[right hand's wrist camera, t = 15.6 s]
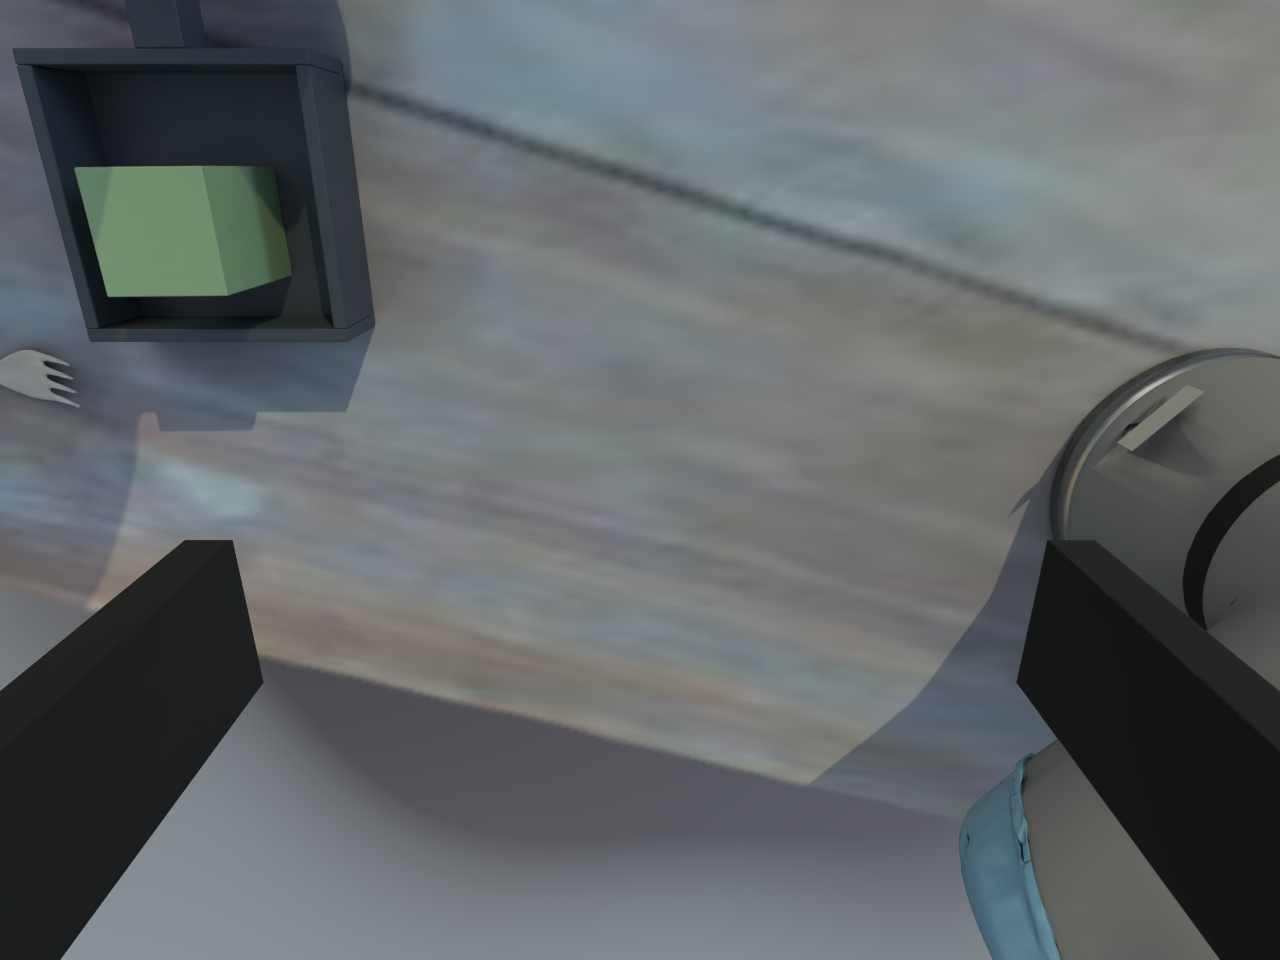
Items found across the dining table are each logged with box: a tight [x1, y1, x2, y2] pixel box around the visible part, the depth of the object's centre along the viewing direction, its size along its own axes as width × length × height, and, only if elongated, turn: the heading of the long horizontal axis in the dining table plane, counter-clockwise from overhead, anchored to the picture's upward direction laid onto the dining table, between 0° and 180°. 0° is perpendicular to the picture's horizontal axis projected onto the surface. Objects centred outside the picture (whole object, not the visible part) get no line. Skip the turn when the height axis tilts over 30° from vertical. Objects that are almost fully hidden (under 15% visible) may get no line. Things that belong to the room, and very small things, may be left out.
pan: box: [13, 0, 375, 342], centre depth 33 cm, size 25×12×4 cm, turn 0°
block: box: [74, 166, 292, 297], centre depth 34 cm, size 5×5×6 cm
